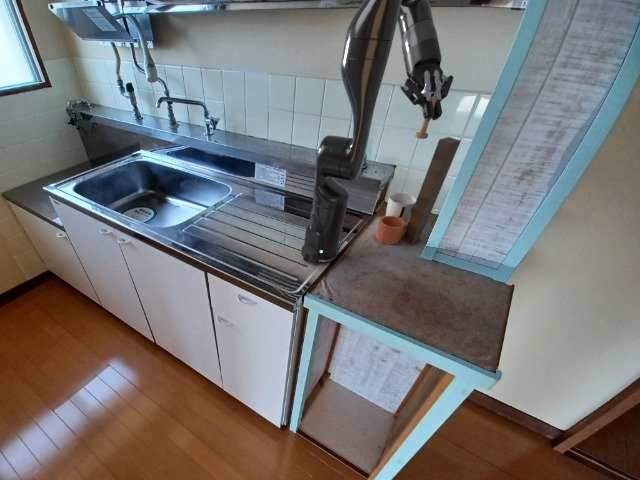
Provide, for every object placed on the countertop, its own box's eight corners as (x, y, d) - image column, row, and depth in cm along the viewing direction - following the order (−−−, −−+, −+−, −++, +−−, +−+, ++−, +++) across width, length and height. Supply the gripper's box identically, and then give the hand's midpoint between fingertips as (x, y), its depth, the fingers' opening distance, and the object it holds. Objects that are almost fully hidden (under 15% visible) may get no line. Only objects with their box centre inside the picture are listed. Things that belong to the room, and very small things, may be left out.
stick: (422, 139, 82) (435, 98, 76) (412, 136, 84) (425, 96, 78) (429, 137, 83) (444, 97, 77) (420, 134, 85) (433, 94, 79)
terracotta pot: (387, 247, 101) (393, 230, 97) (370, 236, 106) (375, 219, 101) (404, 240, 103) (410, 223, 99) (386, 229, 108) (391, 213, 104)
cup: (392, 234, 106) (401, 206, 99) (375, 223, 111) (384, 195, 104) (411, 229, 108) (422, 201, 101) (394, 218, 113) (403, 191, 107)
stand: (411, 244, 102) (451, 143, 81) (402, 238, 104) (439, 139, 83) (419, 240, 103) (461, 140, 82) (409, 235, 105) (448, 136, 85)
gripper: (405, 38, 74) (419, 111, 74) (457, 35, 76) (471, 106, 76) (386, 63, 82) (398, 130, 81) (433, 60, 84) (446, 125, 83)
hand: (433, 118), depth 79 cm, fingers closed on stick, 1 cm apart
